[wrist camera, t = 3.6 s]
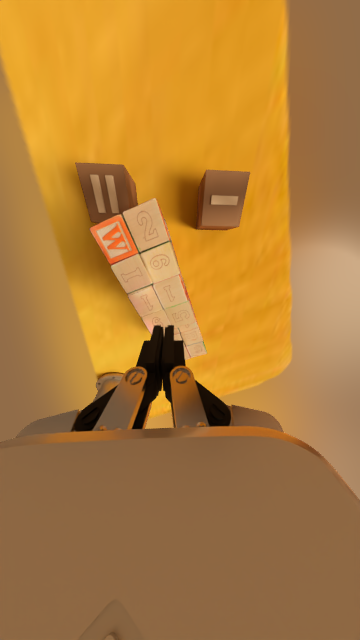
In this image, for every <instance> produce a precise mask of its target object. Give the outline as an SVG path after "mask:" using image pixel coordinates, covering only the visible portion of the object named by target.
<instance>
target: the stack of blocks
mask: <svg viewBox="0 0 360 640" xmlns="http://www.w3.org/2000/svg"><path fill="white" fill-rule="evenodd" d="M90 231H91V233H92V234H93V236H94V238H95V240H96V241H97V243H98V245H99V246H100V248H101V250H102V252H103V253H104V255H105V257H106V258H107V260H108V262H109V263H110V264H111V269H112V271H113V272H114V274H115V276H116V277H117V279H118V280H119V282H120V284H121V285H122V287H123V289H124V290H125V292H126V293H127V294H128V298H129V299H130V301H131V303H132V304H133V306H134V307H135V309H136V311H137V312H138V314H139V316H140V317H142V320H143V322H144V323H145V325H146V327H147V328H148V330H149V332H150V333H151V335H152V332H153V328H154V325H161V327H163V329H164V333H165V327H168V325H174V340H183V344H184V355H185V360H186V359H190V358H191V357H196V356H200V355H203V354H207V352H206V348H205V345H204V342H203V339H202V336H201V333H200V330H199V327H198V324H197V321H196V318H195V314H194V311H193V308H192V305H191V302H190V298H189V296H188V292H187V290H186V287H185V283H184V281H183V278H182V275H181V272H180V268H179V265H178V261H177V258H176V255H175V251H174V248H173V245H172V241H171V238H170V234H169V231H168V228H167V225H166V222H165V219H164V218H163V215H162V212H161V209H160V207H159V204H158V202H157V199H156V198H153V199H151V200H149V201H147V202H145V203H142V204H140V205H138V206H136V207H133V208H131V209H129V210H126V211H124V212H123V215H121V214H120V215H116V216H114V217H112V218H110V219H107V220H105V221H103V222H101V223H99V224H97V225H95V226H93V227H91V228H90Z"/></svg>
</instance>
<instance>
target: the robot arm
mask: <svg viewBox="0 0 360 640" xmlns="http://www.w3.org/2000/svg"><path fill="white" fill-rule="evenodd" d="M162 379H163V391H165V396H166V398H167V400H168V401H169V402H170V403H171V410H172V419H173V427H174V428H160V429H145V427H146V422H147V420H148V416H149V412H150V409H151V405H152V401H153V400H154V399H155V398H156V396H158V392H159V391H161V389H162ZM96 388H97V390H98V393H97V395H96V397H95V399H94V401H93V402H92V403H91V404H90V405H88V406H87V407H86V408H85V409H83V410H81V411H79V410H74V411H70V412H66V413H62V414H59V415H55V416H51V417H47V418H43V419H39V420H37V421H34V422H32V423H31V424H29V425H27V426H26V427H25V428H24V429H23V430H21V431H20V433H19V434H18V435H17V436H16V437H15V438H13V439H9V440H6V441H2V442H0V640H360V500H359V499H358V497H357V496H356V495H355V493H354V492H353V491H352V490H351V488H350V487H349V486H348V485H347V483H346V482H345V481H344V480H343V478H342V477H341V476H340V475H339V474H338V472H337V471H336V470H335V469H334V468H333V466H332V465H331V464H330V463H329V462H328V461H327V460H326V459H325V458H324V457H323V456H322V455H321V454H320V453H319V452H318V451H316V450H315V449H314V448H312V447H311V446H309V445H308V444H306V443H305V442H303V441H301V440H299V439H297V438H295V437H293V436H291V435H289V434H286V433H284V432H283V430H282V428H281V425H280V424H279V422H278V421H277V420H276V419H275V418H274V417H273V416H271V415H270V414H268V413H266V412H262V411H258V410H253V409H249V408H244V407H240V406H235V405H231V406H228V405H226V404H225V403H224V402H222V401H221V400H220V399H219V398H217V397H216V396H215V395H214V394H212V393H211V392H210V391H208V390H207V389H206V388H205V387H203V386H202V385H201V384H200V383H198V382H197V381H196V380H195V379H194V376H193V373H192V371H191V370H190V369H189V368H188V367H186V366H185V355H184V344H183V340H174V325H168V327H165V333H164V329H163V327H161V325H154V328H153V332H152V336H151V340H150V341H144V343H143V346H142V349H141V352H140V355H139V359H138V362H137V365H136V367H133V368H131V369H129V370H128V371H126V372H125V374H120V373H110V374H106V375H103V376H101V377H100V378H99V379H98V381H97V383H96Z"/></svg>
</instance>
